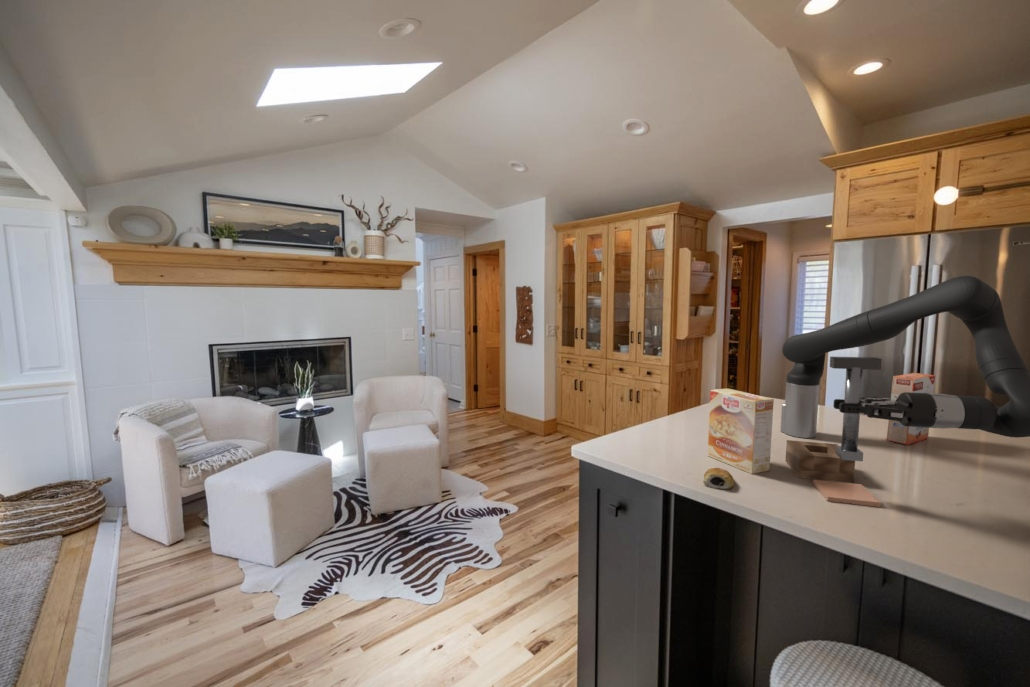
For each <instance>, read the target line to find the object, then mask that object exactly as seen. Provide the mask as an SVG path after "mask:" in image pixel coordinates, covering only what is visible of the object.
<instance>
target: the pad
mask: <svg viewBox="0 0 1030 687" xmlns="http://www.w3.org/2000/svg"><path fill="white" fill-rule="evenodd" d="M812 480H813V483H812V484H813V485H814V487H815V488H816V489H817V490H818V491H819V493H820V494H821V495H822V496H823V498H825V500H826V499H827V500H828V501H827V500H826V501H827V502H831V501H834V503H840V502H843V504H849V503H852V504H851V505H858V504H859V505H858V506H868V507H875V508H878V507H879V508H881V505H882V504H881V501H880V500H879V499H877V497H876V496H874V495H873V494H872V493H871V492H870V491H869V490H868V489H867V488H866V487H865V486H864V485H863V484H862V483H861V484H860V483H848V482H838V481H828V480H818V479H812Z"/></svg>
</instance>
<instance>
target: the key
mask: <svg viewBox="0 0 1030 687" xmlns="http://www.w3.org/2000/svg"><path fill="white" fill-rule="evenodd" d="M882 361H883V360H882V358H879V357H870V356H869V357H864V356H860V357H859V356H858V357H857V356H830V357H829V368H831V369H838V370H839V369H841V370H842V369H844V370H846V371H845V388H844V403H859V404H860V405H861V397H862V387H863V376H864V370H873V371H874V370H875V371H881V370H882ZM842 414H843V416H842V429H841V430H842V431H841V445H839V446H836V453H835V454H836V455H837V456H838V457H840V458H841V459H842V460H852V461H855V462H863V461H864V452H863V451H862V450H860V449H859V448H858V447H859V435H860V434H859V433H860V419H861V418H860V417H861V414H855V413H842Z"/></svg>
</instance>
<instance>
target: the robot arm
mask: <svg viewBox="0 0 1030 687" xmlns="http://www.w3.org/2000/svg"><path fill="white" fill-rule="evenodd" d="M1003 309H1004V308H1003V304H1002V301H1001V298H1000V295H999V293H998V292H997V291H996V289H995V288H993V287H992V286H990V285H989V284H988V283H986V282H985V281H983V280H982V279H980V278H978V277H976V276H973V275H961V276H956V277H953V278H950V279H947V280H944V281H942V282H939V283H938V284H935V285H932V286H931V287H929V288H926V289H924V290H921V291H920V292H917V293H915V294H913V295H910V296H907V297H905V298H901V299H898V300H896V301H894V302H891V303H888V304H885V305H882V306H879V307H875V308H873V309H869V310H867V311H866V310H865V311H863V312H860V313H857V314H855V315H853V316H850V317H847V318H845V319H842V320H840V321H838V322H835V323H832V324H831V325H828V326H826V327H823V328H819V329H817V330H813V331H810V332H805V333H800V334H793V335H792V336H790V337H789V338H788V339H787V340H786V341H785V342H784V343H783V345H782V350H781V351H782V355H783V357H785V358H786V360H788V361H789V362H793V363H794V365H793V367H792V369H791V370H790V371H789V372H788V373H787V375H786V383H785V396H784V397H785V398H784V399H785V400H784V403H782V404H781V416H780V418H781V419H780V432H782V433H784V434H786V435H789V436H791V437H796V438H801V439H802V438H803V439H811V438H815V437H817V426H818V413H819V411H818V410H819V398H820V385H821V384H820V381H821V378H822V377H823V375H824V371H825V370H824V369H825V362H826V353H830V352H834V351H839V350H840V351H841V350H847V349H854V348H860V347H864V346H869V345H873V344H877V343H880V342H884V341H888V340H891V339H894V338H895V337H898V335H900V334H901V333H902V332H904V331H905V330H906V329H907V328H908V327H910V326H911V325H912V324H914V323H915V322H917V321H919V320H921V319H924V318H927V317H929V316H930V317H931V316H933V315H934V316H935V315H938V314H941V313H947V312H948V313H950V314H951V315H953V316H954V317H956V318H958V319H960V320H961V321H962V322H963V324H964V325H965V327H966V328H967V329H968V330H969V332H970V333H971V335H972V338H973V341H974V346H975V349H974V350H975V353H974V354H975V360H976V364H977V366H978V368H979V371H980V373H981V375H982V378H983V379H984V382H985V384H986V386H987V388H988V389H989V391H991V392H992V393H994V394H996V395H1000V396H1008V399H1009V401H1008V402H1006V403H1005V404H1003V406H1002V405H1001V406H995V404H994V403H993V402H992V401H991V400H990V399H988V398H986V397H982V396H974V395H973V396H972V395H955V394H954V395H953V394H946V393H934V392H933V393H911V392H904V393H901V394H900V395H899V396H898V398H897V400H896V401H891V398H889V397H880V398H878V396H877V397H876V396H861V405H860V404H859V403H844V399H845V398H844V399H843V398H842V399H840V398H836V399H833V408H834V409H836V410H839V412H840V413H842V414H844V413H855V414H860V416H864V417H865V416H866V417H867V418H870V419H872V418H873V419H881V420H888V421H889V420H894V421H899V422H900V423H901V424H902V425H904V426H907V427H924V428H929V429H941V430H942V429H943V430H944V429H962V430H966V429H967V430H980V431H984V432H985V433H991V434H994V435H999V436H1003V437H1009V438H1029V437H1030V370H1029V369H1028V367H1027V364H1026V363H1025V361H1024V359H1023V357H1022V355H1021V354H1020V351H1019V350H1018V348H1017V346H1016V344H1015V342H1014V340H1013V338H1012V336H1011V333H1010V331H1009V328H1008V326H1007V321H1006V317H1005V314H1004V310H1003Z"/></svg>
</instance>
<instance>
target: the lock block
mask: <svg viewBox="0 0 1030 687" xmlns="http://www.w3.org/2000/svg"><path fill="white" fill-rule="evenodd" d="M836 446H840V445H839V444H838V443H829V442H828V443H827V442H817V441H816V442H815V441H803V440H802V441H801V440H790V439H789V440H788V439H786V446H785V447H786V448H785V462H786V464H787V465H788V467H789V468H790V469H791V470H792V471H793V473H794V474H795V475H796V477H797V478H800V479H809V480H822V481H832V482H842V483H852V484H855V483H854V482H855V480H854V479H855V471H856V470H855V469H856V461H852V460H842V459H841V458H840V457H838V456H837V455H836V454H835V453H836Z"/></svg>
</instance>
